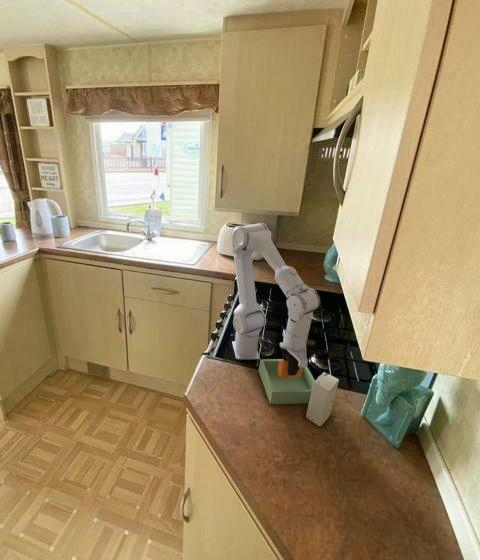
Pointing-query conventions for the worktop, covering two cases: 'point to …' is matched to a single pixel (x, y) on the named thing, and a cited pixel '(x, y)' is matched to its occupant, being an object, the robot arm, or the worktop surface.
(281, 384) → the tray
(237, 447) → the worktop surface
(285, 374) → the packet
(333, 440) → the worktop surface
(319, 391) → the cosmetic box
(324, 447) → the worktop surface
